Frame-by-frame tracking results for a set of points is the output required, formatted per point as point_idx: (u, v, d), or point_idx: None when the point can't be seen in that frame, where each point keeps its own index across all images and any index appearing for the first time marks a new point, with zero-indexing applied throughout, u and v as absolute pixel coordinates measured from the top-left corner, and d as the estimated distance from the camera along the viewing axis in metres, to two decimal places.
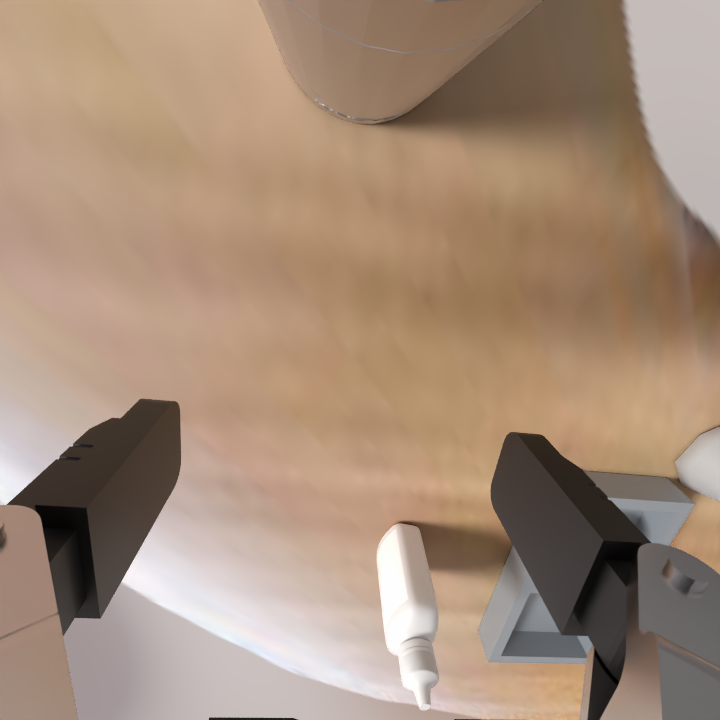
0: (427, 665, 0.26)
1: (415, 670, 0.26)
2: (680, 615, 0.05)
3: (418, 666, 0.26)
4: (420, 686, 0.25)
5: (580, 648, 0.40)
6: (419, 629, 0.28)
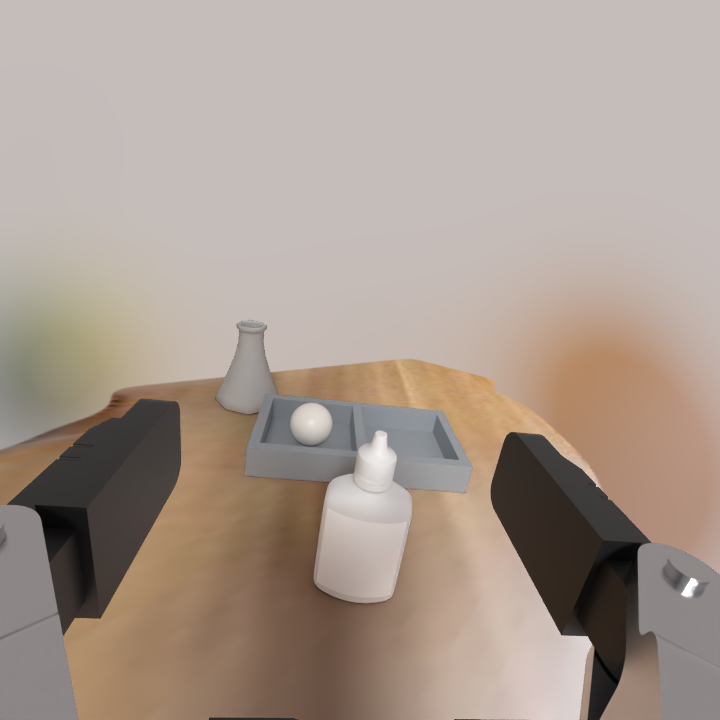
0: None
1: (362, 458, 0.24)
2: (680, 615, 0.05)
3: (359, 458, 0.24)
4: (371, 447, 0.24)
5: (436, 422, 0.47)
6: (348, 482, 0.25)
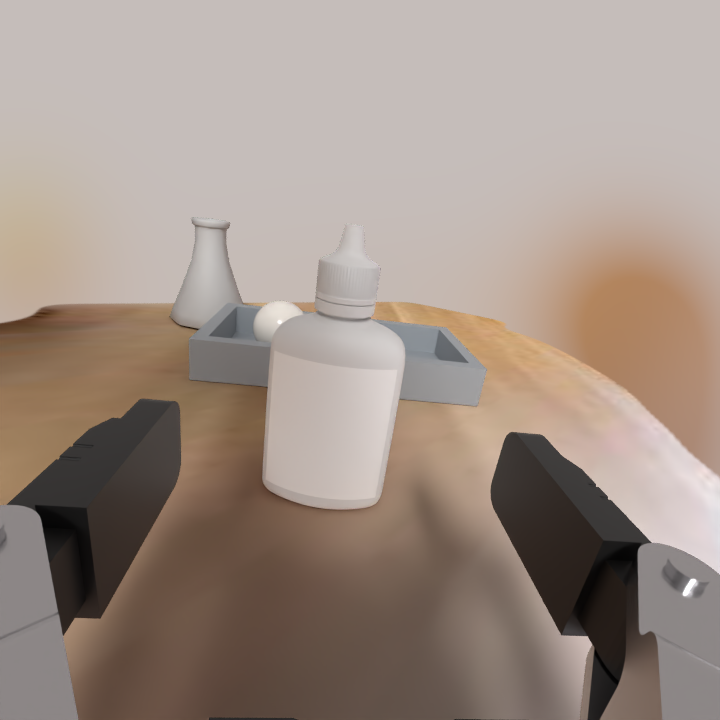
0: None
1: (325, 263, 0.15)
2: (681, 615, 0.05)
3: (321, 267, 0.15)
4: (340, 247, 0.15)
5: (438, 339, 0.39)
6: (307, 315, 0.16)
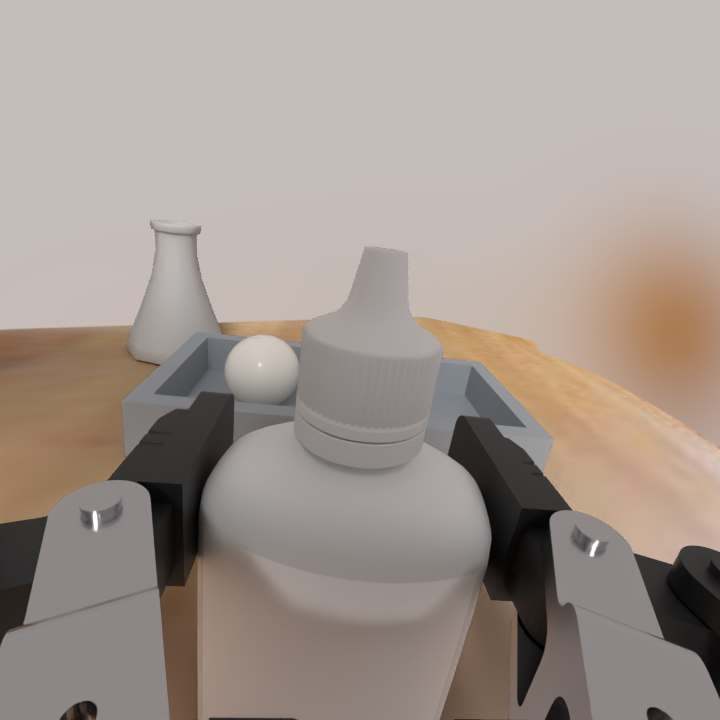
0: None
1: (316, 342, 0.06)
2: (574, 569, 0.06)
3: (307, 347, 0.07)
4: (351, 302, 0.06)
5: (470, 377, 0.30)
6: (278, 441, 0.08)
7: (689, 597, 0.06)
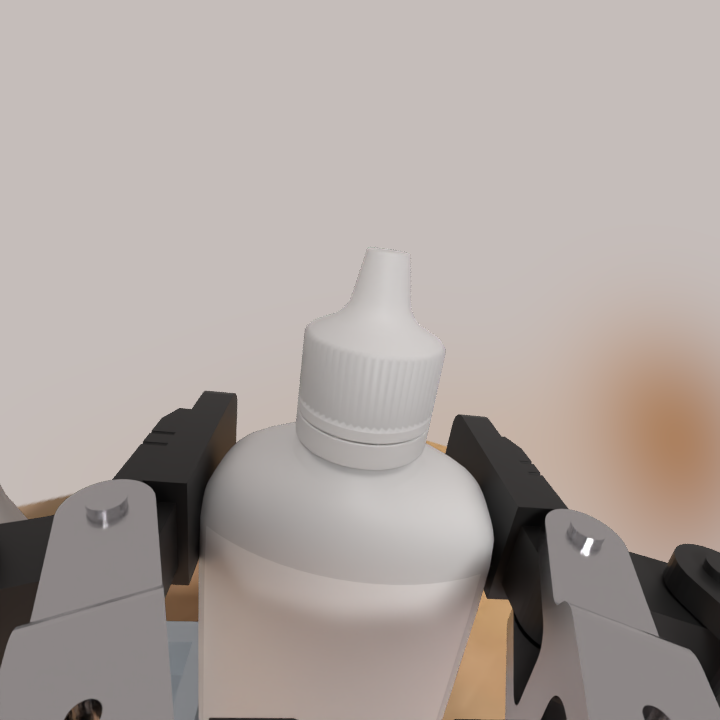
0: None
1: (319, 343, 0.06)
2: (569, 567, 0.06)
3: (310, 347, 0.07)
4: (353, 303, 0.06)
5: None
6: (280, 442, 0.08)
7: (684, 595, 0.06)
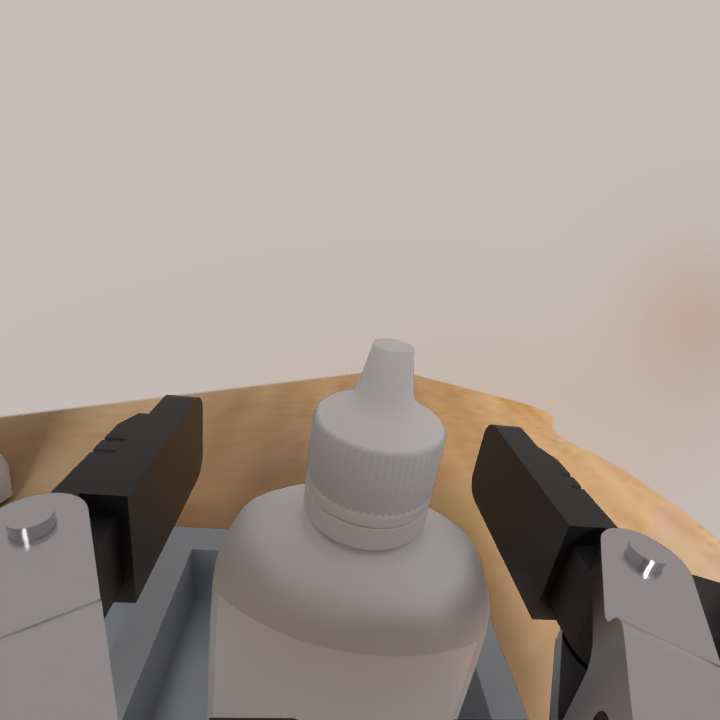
0: None
1: (327, 432, 0.07)
2: (635, 593, 0.05)
3: (319, 433, 0.07)
4: (360, 393, 0.07)
5: None
6: (288, 512, 0.08)
7: None
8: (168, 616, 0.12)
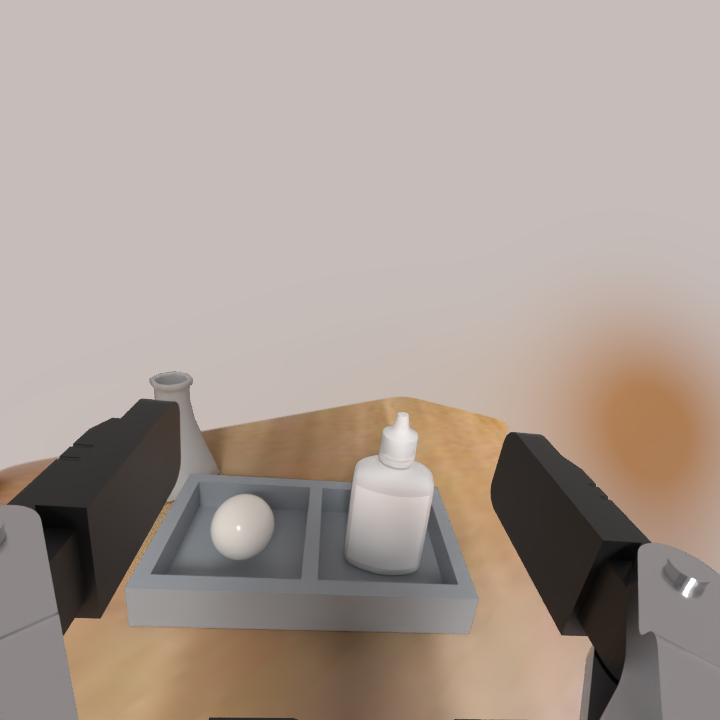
0: None
1: (387, 437, 0.26)
2: (680, 615, 0.05)
3: (384, 438, 0.26)
4: (394, 427, 0.26)
5: None
6: (374, 461, 0.28)
7: None
8: None
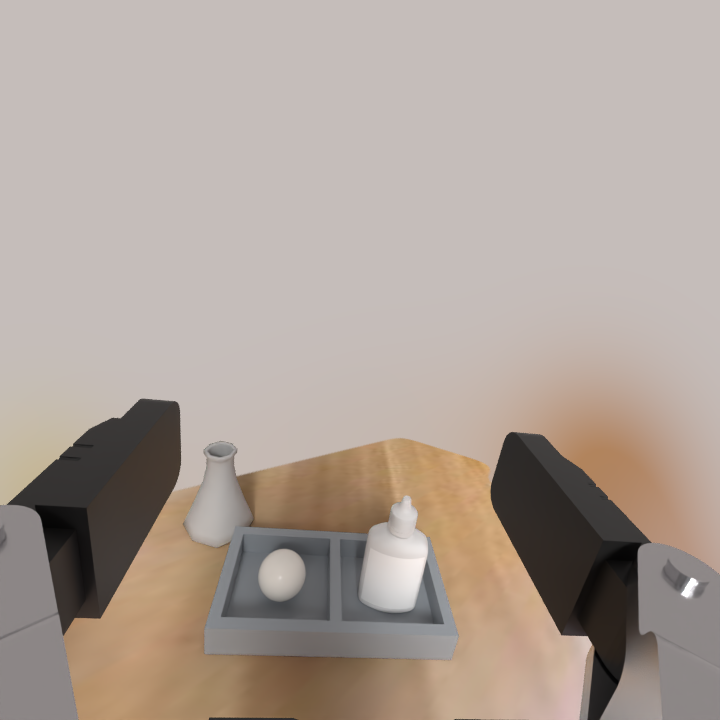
0: (391, 510, 0.36)
1: (394, 515, 0.35)
2: (680, 615, 0.05)
3: (392, 515, 0.36)
4: (400, 507, 0.35)
5: None
6: (384, 530, 0.37)
7: None
8: (339, 558, 0.41)
